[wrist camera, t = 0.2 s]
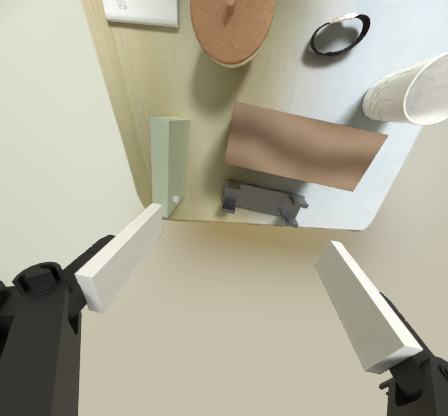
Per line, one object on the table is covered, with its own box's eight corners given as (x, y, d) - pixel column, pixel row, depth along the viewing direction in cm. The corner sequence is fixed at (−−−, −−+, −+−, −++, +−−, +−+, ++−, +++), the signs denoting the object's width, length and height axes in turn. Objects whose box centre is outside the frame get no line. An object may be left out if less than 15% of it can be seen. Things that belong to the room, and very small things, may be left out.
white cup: (361, 78, 28) (412, 61, 20) (416, 63, 27) (498, 37, 18) (355, 128, 32) (397, 131, 23) (404, 117, 30) (468, 116, 22)
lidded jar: (233, 90, 31) (229, 80, 23) (190, 37, 28) (168, 4, 20) (281, 32, 27) (296, -5, 19) (236, -38, 24) (231, -118, 16)
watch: (364, 11, 25) (381, -4, 22) (357, 52, 27) (372, 43, 24) (309, 25, 26) (318, 13, 23) (307, 63, 28) (315, 56, 25)
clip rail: (226, 179, 40) (224, 186, 35) (303, 196, 40) (310, 205, 35) (221, 201, 43) (219, 210, 38) (293, 217, 43) (299, 228, 38)
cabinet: (238, 107, 32) (235, 101, 21) (338, 129, 32) (388, 135, 21) (230, 149, 36) (223, 163, 25) (319, 168, 36) (352, 191, 25)
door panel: (176, 116, 35) (149, 116, 25) (195, 121, 35) (176, 122, 25) (173, 193, 43) (152, 215, 34) (188, 196, 43) (172, 219, 34)
